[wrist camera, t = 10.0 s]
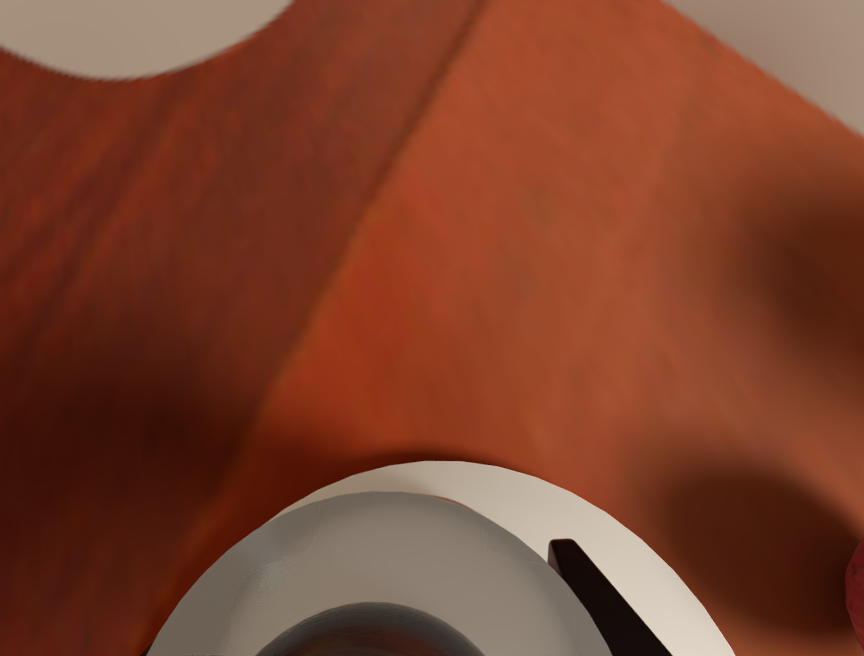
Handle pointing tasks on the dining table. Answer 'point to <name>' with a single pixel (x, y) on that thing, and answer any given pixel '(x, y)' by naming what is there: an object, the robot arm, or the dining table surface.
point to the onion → (856, 591)
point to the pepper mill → (380, 588)
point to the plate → (557, 519)
